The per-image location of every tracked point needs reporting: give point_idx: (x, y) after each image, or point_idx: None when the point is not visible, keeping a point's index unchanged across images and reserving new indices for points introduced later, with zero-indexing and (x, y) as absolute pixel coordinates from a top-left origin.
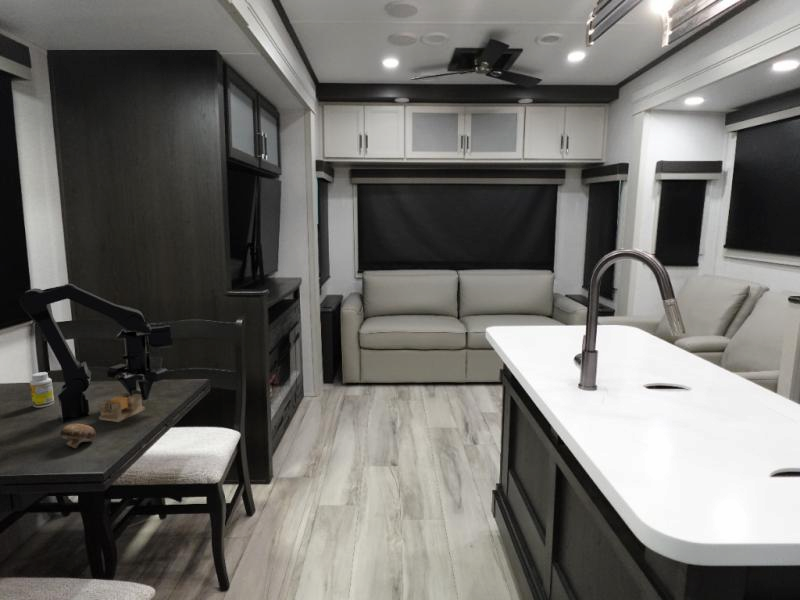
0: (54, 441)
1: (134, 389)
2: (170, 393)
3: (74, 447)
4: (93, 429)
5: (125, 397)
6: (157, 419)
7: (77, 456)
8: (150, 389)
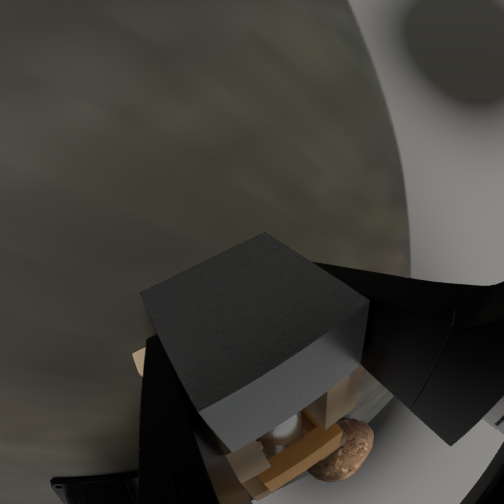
0: None
1: (248, 431)
2: None
3: None
4: (369, 434)
5: (332, 438)
6: (400, 267)
7: None
8: (401, 279)
